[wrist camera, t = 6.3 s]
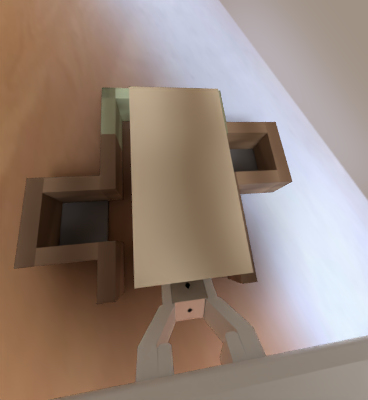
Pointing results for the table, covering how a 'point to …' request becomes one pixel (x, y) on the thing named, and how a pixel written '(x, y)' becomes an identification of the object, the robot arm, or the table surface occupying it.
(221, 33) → the table surface
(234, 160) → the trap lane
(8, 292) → the table surface
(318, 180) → the table surface
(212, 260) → the beech block
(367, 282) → the table surface
